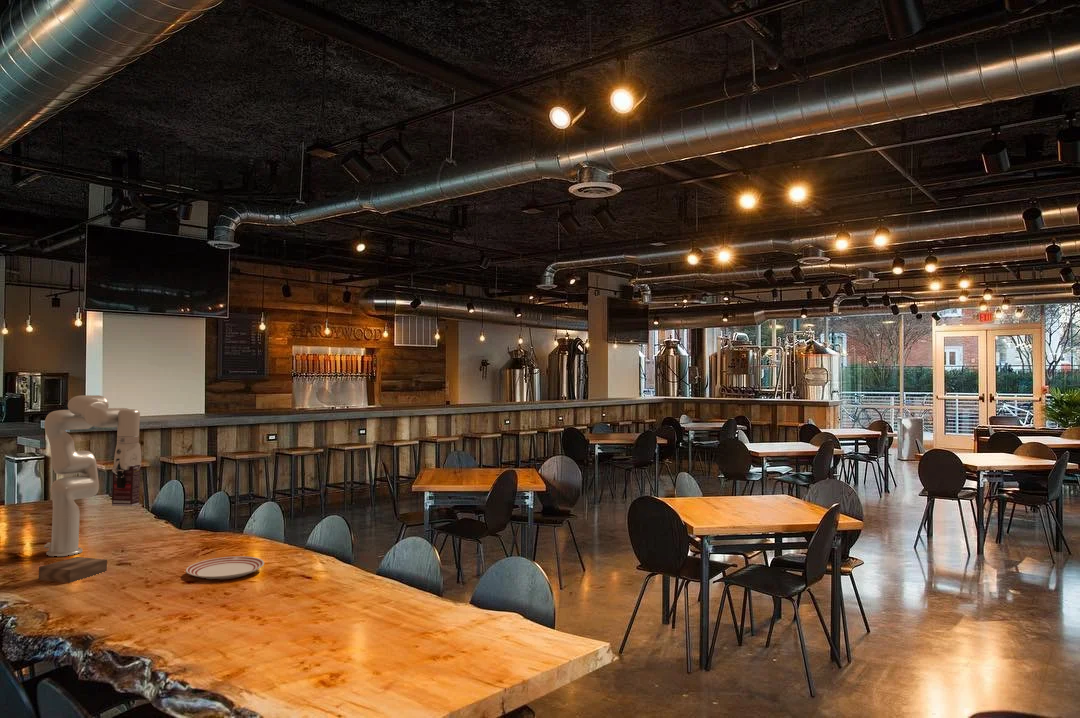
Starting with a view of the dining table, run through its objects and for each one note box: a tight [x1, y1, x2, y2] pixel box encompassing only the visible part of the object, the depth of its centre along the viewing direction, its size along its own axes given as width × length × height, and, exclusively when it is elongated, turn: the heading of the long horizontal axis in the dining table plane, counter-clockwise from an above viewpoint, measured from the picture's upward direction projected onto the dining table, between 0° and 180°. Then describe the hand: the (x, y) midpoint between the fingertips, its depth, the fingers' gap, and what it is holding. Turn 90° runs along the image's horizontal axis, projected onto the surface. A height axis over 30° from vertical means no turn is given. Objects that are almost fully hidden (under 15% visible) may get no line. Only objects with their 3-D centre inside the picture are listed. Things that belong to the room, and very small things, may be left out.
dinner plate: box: [185, 555, 265, 580], centre depth 272 cm, size 27×27×3 cm
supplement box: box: [111, 465, 141, 507], centre depth 281 cm, size 9×5×16 cm, turn 85°
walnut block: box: [38, 556, 108, 584], centre depth 265 cm, size 14×16×5 cm
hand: (126, 486), depth 281 cm, fingers closed on supplement box, 4 cm apart
